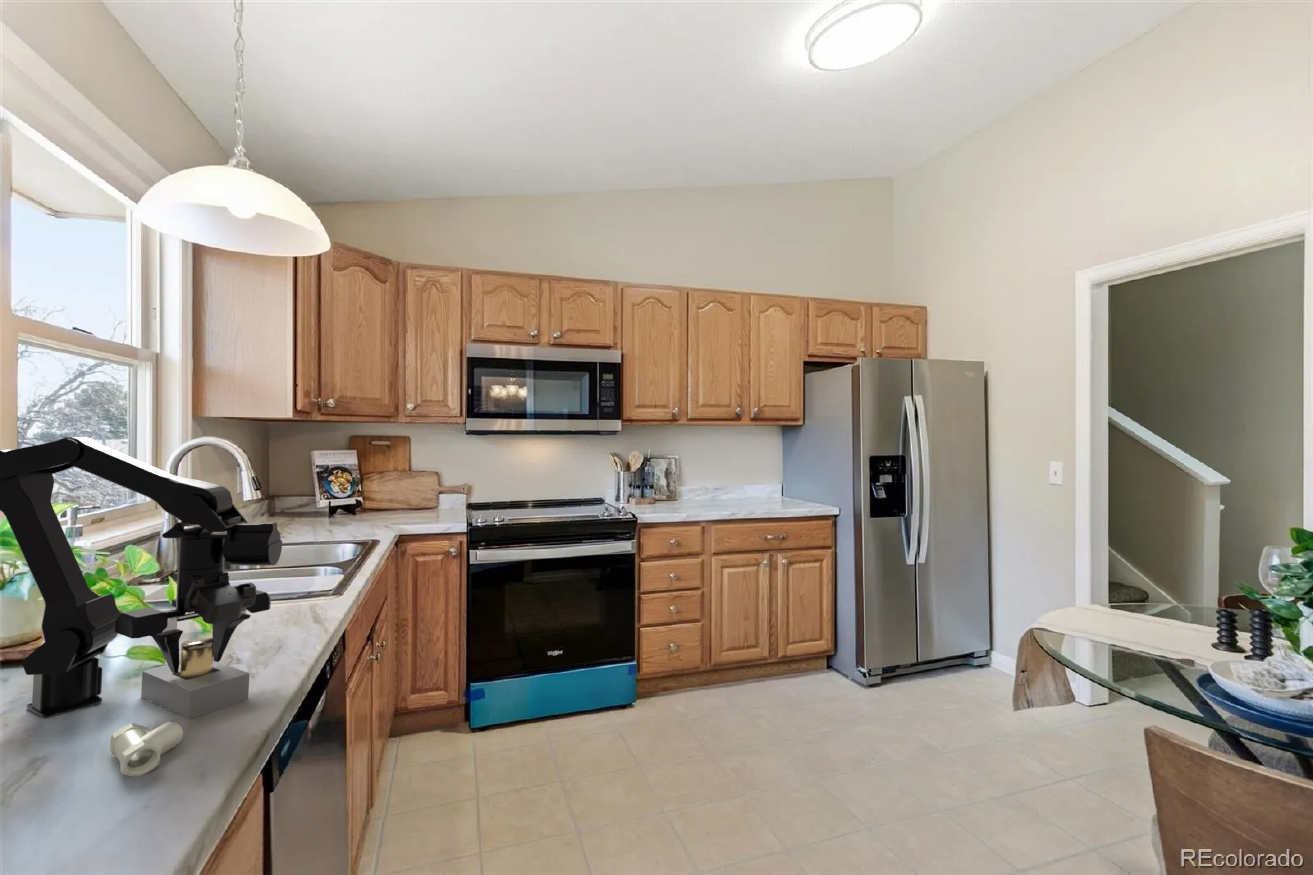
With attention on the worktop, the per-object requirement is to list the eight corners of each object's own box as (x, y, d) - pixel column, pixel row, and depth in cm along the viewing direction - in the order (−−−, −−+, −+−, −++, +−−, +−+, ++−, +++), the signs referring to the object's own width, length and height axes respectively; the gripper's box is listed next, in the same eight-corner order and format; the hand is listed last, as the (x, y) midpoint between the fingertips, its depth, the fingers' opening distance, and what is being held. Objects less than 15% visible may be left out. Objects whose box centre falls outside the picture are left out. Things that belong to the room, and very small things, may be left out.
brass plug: (186, 704, 89) (189, 647, 89) (173, 698, 91) (175, 643, 91) (216, 695, 93) (219, 640, 93) (202, 689, 95) (205, 636, 95)
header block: (188, 719, 85) (190, 691, 85) (141, 697, 92) (142, 671, 92) (248, 699, 92) (249, 673, 92) (200, 680, 99) (201, 655, 99)
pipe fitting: (175, 743, 80) (107, 758, 75) (179, 713, 80) (113, 726, 75) (191, 764, 75) (120, 782, 70) (196, 733, 75) (126, 748, 70)
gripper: (154, 584, 80) (148, 700, 80) (292, 563, 97) (288, 659, 97) (116, 573, 85) (110, 682, 85) (253, 555, 102) (249, 646, 102)
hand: (196, 666), depth 92 cm, fingers open, 5 cm apart
